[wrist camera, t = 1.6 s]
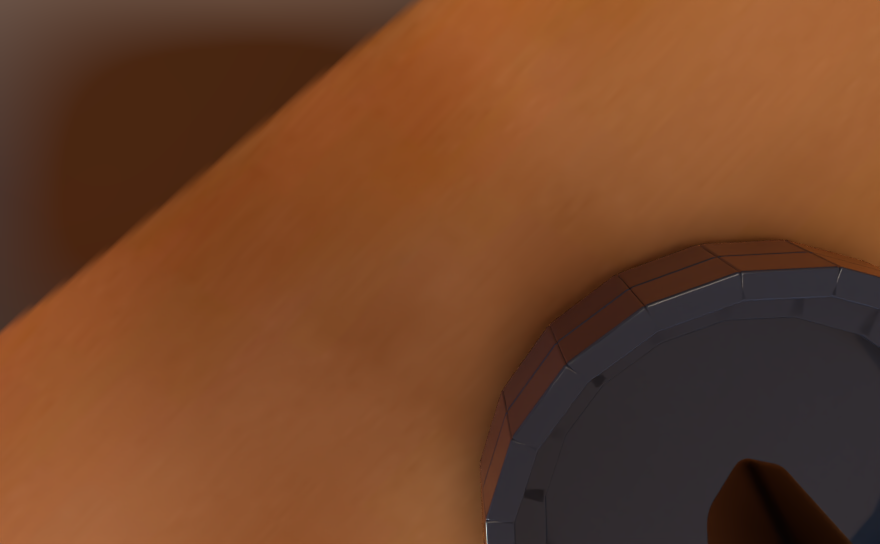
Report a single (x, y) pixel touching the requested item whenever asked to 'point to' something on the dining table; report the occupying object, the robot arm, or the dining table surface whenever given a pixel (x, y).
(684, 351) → the bowl
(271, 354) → the dining table surface
